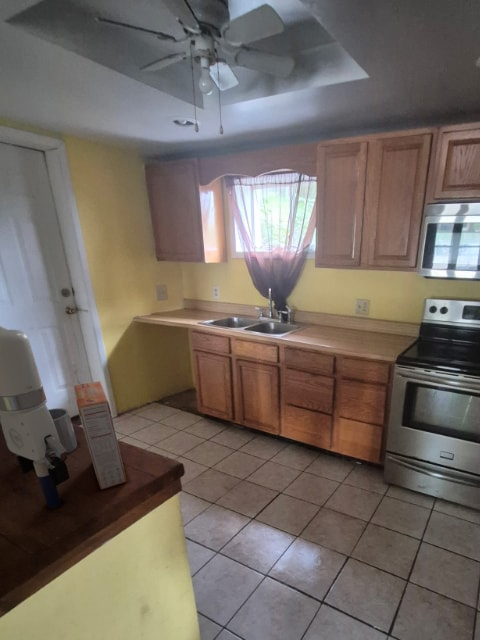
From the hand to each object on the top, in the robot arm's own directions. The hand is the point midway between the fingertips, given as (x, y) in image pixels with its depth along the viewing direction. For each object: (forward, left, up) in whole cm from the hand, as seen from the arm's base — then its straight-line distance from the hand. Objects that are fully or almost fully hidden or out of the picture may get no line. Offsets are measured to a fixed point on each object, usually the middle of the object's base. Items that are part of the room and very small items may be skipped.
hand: (46, 475), depth 75 cm
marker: (0, 0, -7) cm, 7 cm away
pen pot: (-12, +23, -7) cm, 27 cm away
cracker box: (+6, +12, -8) cm, 15 cm away
